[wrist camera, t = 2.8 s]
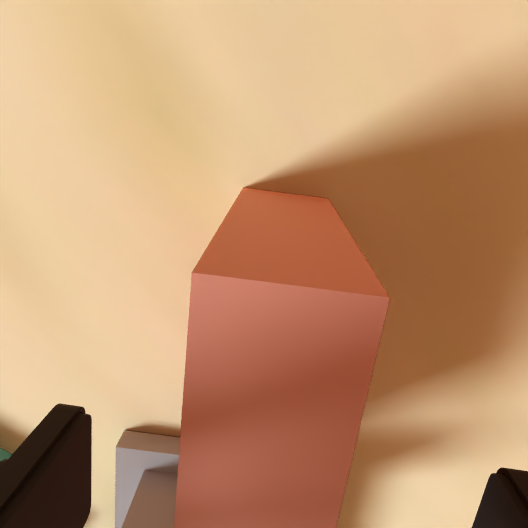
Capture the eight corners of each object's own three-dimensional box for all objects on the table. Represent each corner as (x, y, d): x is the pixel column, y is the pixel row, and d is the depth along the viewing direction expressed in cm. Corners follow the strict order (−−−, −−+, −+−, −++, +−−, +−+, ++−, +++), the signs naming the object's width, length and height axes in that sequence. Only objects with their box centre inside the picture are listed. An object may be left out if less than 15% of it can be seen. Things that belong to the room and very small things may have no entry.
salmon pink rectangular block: (243, 187, 15) (192, 272, 6) (327, 198, 15) (389, 297, 6) (218, 421, 18) (162, 688, 10) (288, 430, 18) (295, 705, 10)
